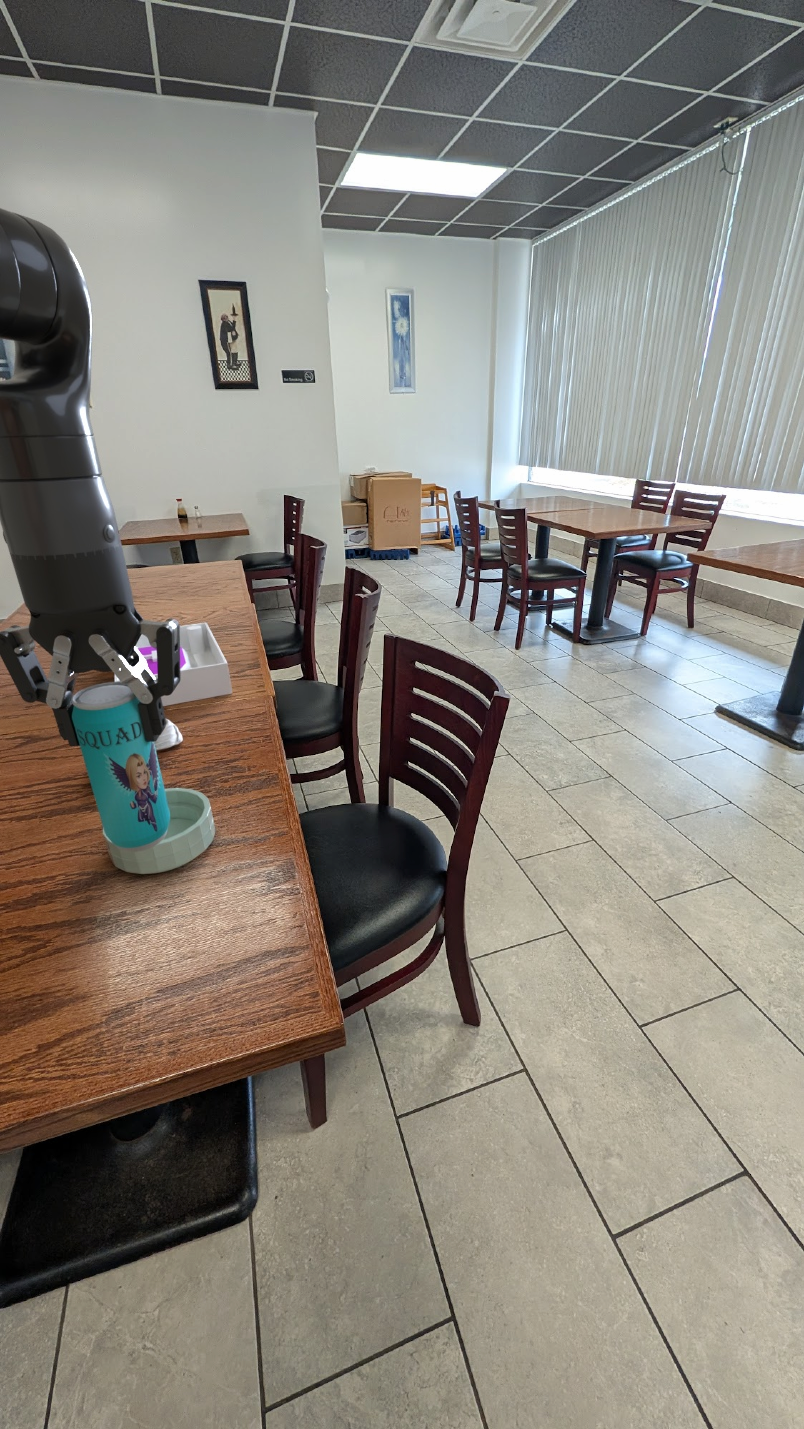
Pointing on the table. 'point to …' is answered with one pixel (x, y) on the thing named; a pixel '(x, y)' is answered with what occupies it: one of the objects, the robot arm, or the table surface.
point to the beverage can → (121, 766)
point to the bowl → (172, 836)
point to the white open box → (193, 665)
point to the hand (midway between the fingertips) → (116, 739)
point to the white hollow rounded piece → (168, 737)
